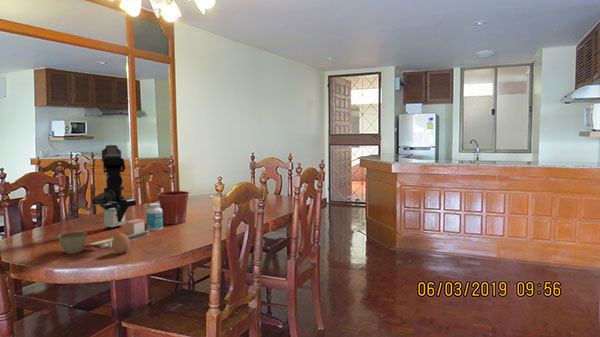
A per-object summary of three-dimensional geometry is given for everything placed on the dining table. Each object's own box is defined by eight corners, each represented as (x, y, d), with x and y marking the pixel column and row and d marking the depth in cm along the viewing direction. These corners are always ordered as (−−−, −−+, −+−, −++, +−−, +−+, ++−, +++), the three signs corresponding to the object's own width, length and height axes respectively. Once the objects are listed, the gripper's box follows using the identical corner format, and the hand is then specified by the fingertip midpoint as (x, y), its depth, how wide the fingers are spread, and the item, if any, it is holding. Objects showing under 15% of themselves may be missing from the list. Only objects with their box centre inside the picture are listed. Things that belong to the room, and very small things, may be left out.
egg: (132, 251, 161) (131, 231, 161) (126, 255, 155) (125, 235, 154) (116, 251, 161) (115, 231, 161) (109, 255, 155) (108, 235, 154)
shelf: (89, 246, 168) (88, 238, 167) (129, 235, 188) (129, 227, 188) (110, 249, 163) (110, 241, 163) (150, 237, 183) (149, 230, 183)
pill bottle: (157, 233, 192) (156, 205, 191) (143, 232, 193) (142, 204, 192) (165, 229, 199) (165, 202, 198) (152, 229, 200) (151, 202, 199)
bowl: (66, 248, 164) (66, 231, 164) (92, 248, 165) (91, 231, 165) (54, 256, 154) (53, 238, 154) (80, 255, 155) (80, 237, 155)
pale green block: (104, 226, 168) (103, 209, 168) (117, 222, 175) (117, 207, 174) (112, 227, 166) (112, 210, 166) (125, 223, 173) (125, 207, 172)
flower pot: (184, 225, 208) (183, 195, 207) (153, 225, 208) (152, 195, 207) (193, 219, 224) (193, 191, 223) (164, 219, 225) (163, 190, 224)
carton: (125, 237, 179) (125, 221, 178) (137, 233, 185) (137, 219, 185) (133, 238, 177) (133, 222, 177) (145, 234, 184) (144, 219, 183)
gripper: (81, 186, 165) (82, 223, 167) (115, 188, 158) (116, 227, 159) (103, 183, 176) (105, 218, 177) (136, 185, 169) (137, 221, 170)
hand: (115, 221), depth 170 cm, fingers closed on pale green block, 5 cm apart
